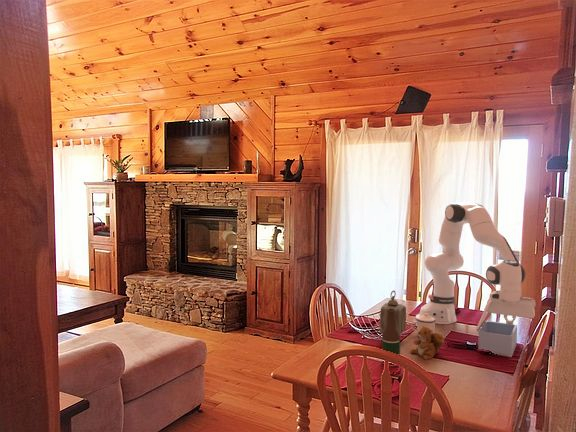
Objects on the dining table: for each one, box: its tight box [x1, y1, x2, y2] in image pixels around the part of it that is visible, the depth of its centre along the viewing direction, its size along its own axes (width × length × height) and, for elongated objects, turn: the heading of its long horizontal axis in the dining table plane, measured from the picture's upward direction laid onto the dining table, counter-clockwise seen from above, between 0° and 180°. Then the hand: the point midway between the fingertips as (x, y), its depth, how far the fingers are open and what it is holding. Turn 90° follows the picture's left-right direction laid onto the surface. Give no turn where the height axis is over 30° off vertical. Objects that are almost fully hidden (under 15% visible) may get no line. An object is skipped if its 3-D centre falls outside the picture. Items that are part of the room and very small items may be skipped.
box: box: [477, 320, 518, 358], centre depth 217 cm, size 20×14×10 cm
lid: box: [475, 299, 492, 332], centre depth 219 cm, size 20×15×1 cm
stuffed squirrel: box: [410, 326, 446, 360], centre depth 209 cm, size 10×14×13 cm
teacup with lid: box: [410, 313, 436, 337], centre depth 235 cm, size 12×9×12 cm
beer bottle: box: [381, 309, 401, 365], centre depth 197 cm, size 8×8×24 cm
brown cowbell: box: [379, 289, 407, 336], centre depth 229 cm, size 14×9×25 cm, turn 149°
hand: (509, 324), depth 214 cm, fingers closed
